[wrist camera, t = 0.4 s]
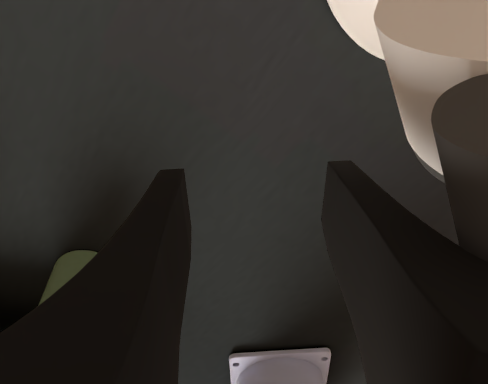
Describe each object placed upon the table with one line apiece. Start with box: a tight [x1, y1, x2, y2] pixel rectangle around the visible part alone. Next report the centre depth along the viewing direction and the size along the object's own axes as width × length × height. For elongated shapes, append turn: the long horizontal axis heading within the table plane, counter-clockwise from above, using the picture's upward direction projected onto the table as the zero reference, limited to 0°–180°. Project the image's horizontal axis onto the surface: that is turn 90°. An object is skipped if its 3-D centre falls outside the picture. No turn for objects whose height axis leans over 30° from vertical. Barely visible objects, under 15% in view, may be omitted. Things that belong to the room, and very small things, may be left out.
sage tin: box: [38, 250, 98, 306], centre depth 25 cm, size 4×4×6 cm
